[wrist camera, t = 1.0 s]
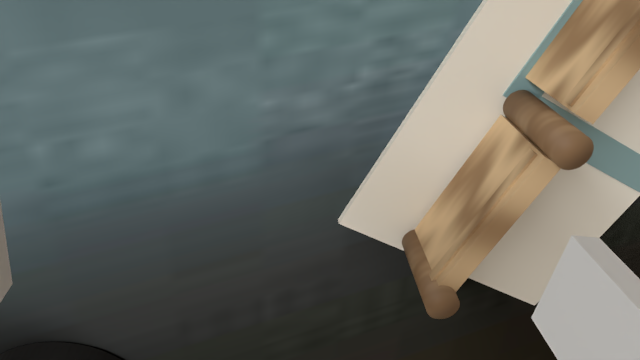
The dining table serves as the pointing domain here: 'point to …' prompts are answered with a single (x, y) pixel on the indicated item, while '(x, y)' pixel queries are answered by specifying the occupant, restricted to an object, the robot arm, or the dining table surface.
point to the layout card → (470, 128)
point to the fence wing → (490, 196)
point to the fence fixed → (591, 57)
